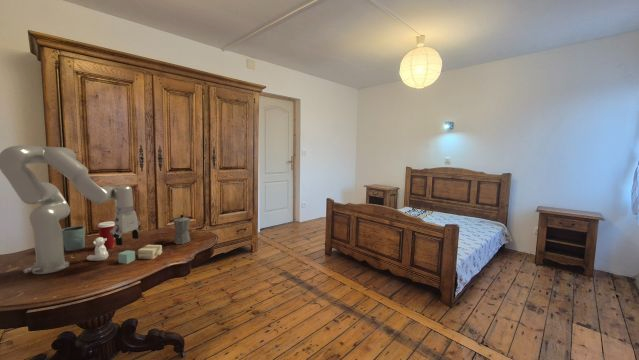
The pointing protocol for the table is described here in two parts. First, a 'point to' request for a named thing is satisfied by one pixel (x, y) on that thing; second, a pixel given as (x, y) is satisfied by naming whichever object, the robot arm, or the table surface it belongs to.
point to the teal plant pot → (74, 238)
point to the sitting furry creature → (99, 250)
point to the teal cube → (126, 256)
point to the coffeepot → (181, 230)
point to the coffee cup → (107, 233)
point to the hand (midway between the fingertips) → (127, 241)
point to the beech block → (150, 251)
